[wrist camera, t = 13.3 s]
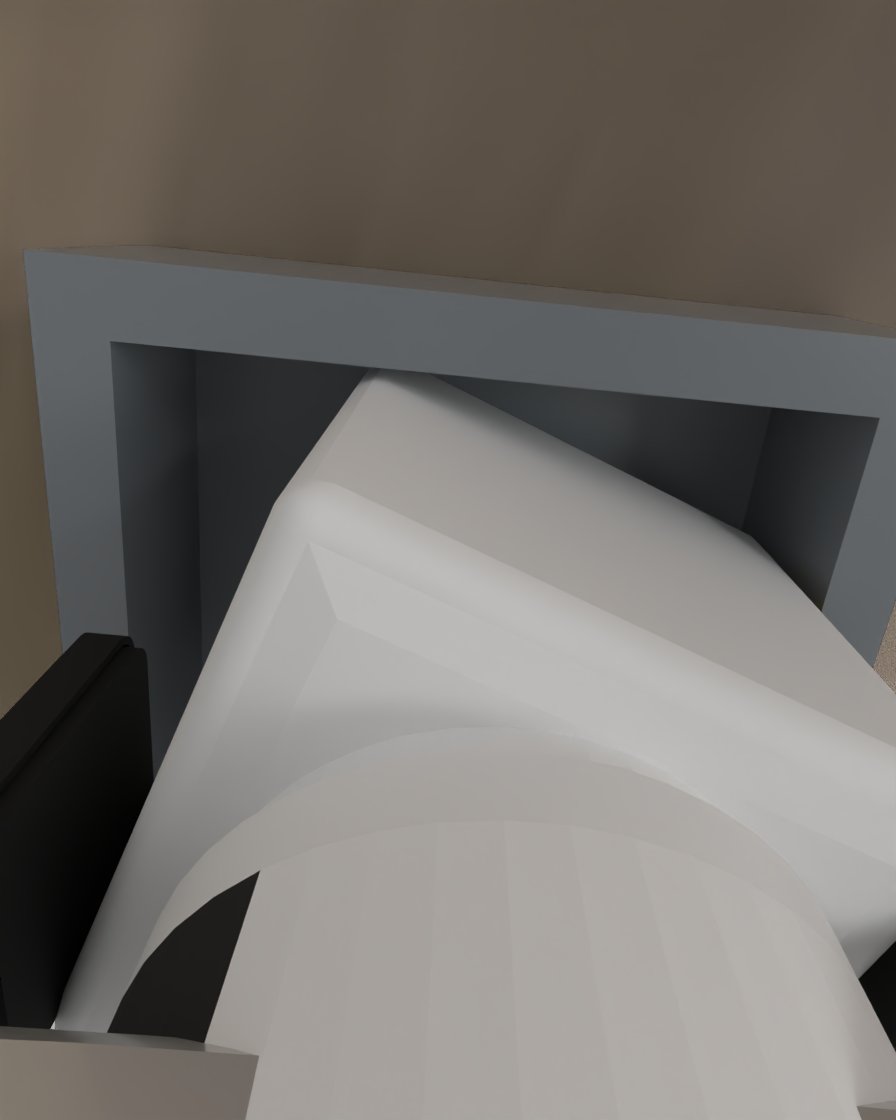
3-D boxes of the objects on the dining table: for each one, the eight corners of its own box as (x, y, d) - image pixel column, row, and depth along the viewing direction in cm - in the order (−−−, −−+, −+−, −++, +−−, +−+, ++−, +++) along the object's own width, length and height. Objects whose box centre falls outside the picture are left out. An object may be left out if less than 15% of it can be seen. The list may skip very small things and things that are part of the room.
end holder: (838, 317, 14) (981, 347, 10) (692, 856, 18) (753, 1018, 15) (144, 244, 14) (23, 249, 10) (170, 811, 18) (93, 964, 14)
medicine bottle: (556, 832, 16) (742, 2154, 5) (223, 692, 15) (-456, 1985, 4) (762, 537, 14) (2044, 1905, 3) (380, 344, 13) (-303, 1254, 1)
